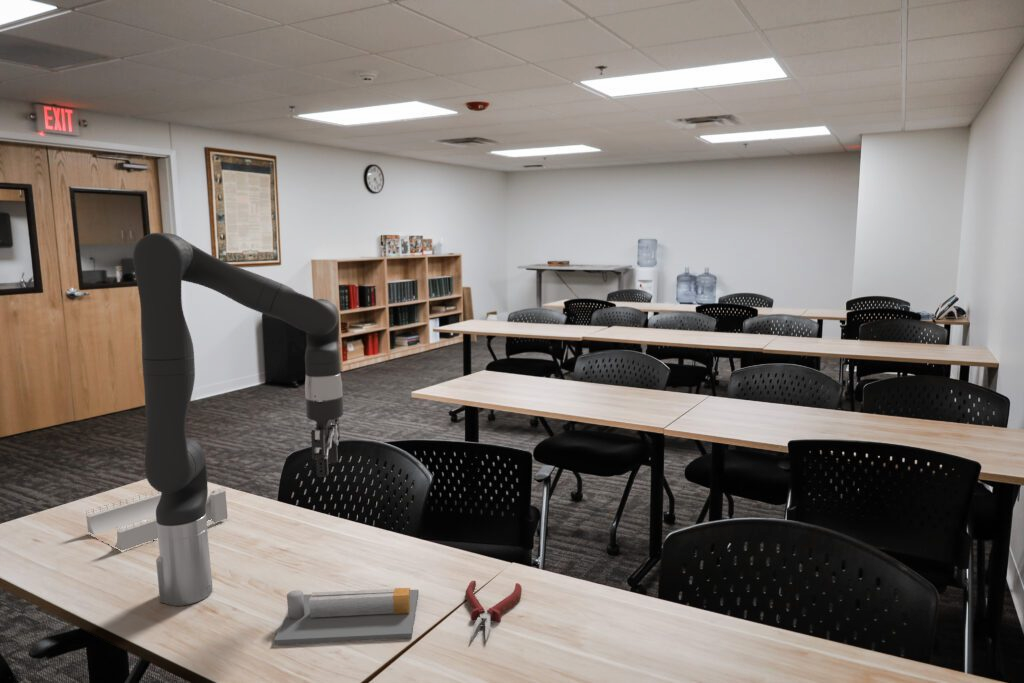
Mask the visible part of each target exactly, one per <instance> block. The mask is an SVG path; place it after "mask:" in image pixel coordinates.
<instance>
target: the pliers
mask: <svg viewBox="0 0 1024 683" xmlns="http://www.w3.org/2000/svg"><path fill="white" fill-rule="evenodd" d="M475 587H476V588H477V582H476V580H471V581H470V582H469V584H468V585H467V587H466V590H465V599H466V603H468V605H469V607H470V609H471V612H470V620H471V622H474V620H475V622H474V624H473V627H472V631H471V635H470V638H469V641H470V642H472V641H473V640H474V639H475V637H476V636H477V635H478V634H479V633H480V631H481V630H480V629H481V627H482V626H481V625H485V626H484V627H485V628H484V632H485V633H484V636H485V637H484V638H485V640H484V641H485V642H484V643H487V640H488V638H489V635H490V632H491V624H492V622H491V621H493V622H496V623H500V622H501V620H502V619H501V618H502V615H504V614H505V613H507V611H509V610H510V609H512V608H513V607H515V606H516V605H517V604H518V603H519V602H520V600H521V598H522V597H521V596H522V591H523V590H522V585H521V584H520V583H518V582H516V583H515V587H514V590H513V592H511V594H509V595H508V596H506V597H505V598H504V599H502V600H500V601H499V602H497V603H496V604H494V605H493V606H492V607H489V608H488V609H486V611H485V608H484V607H483V606H482V604H481V602H480V601H479V600H478V598H477V597H476V595H475V593H473V592H475V591H474V590H476V589H475ZM514 605H515V606H514ZM478 632H479V633H478Z"/></svg>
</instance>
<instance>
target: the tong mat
mask: <svg viewBox="0 0 1024 683" xmlns="http://www.w3.org/2000/svg"><path fill="white" fill-rule="evenodd" d="M418 594H419V589H410V601H411V607H410V612H409V613H406V614H394V613H391V614H372V615H353V616H333V617H314V618H310V606H309V599H310V597H311V595H312V593H311V594H304V591H302V590H300V589H296V590H291V591H289V592H288V593H287V594H286V600H287V604H286V605H287V614H286V616H285V617H284V620H283V621H282V623H281V625H280V628H279V629H278V632H277V634H276V636H275V637H274V639H273V643H274V646H283V645H284V646H286V645H303V644H305V645H306V644H323V643H324V644H325V643H341V642H342V643H344V642H361V641H384V640H383V639H387V640H402V639H403V638H407V639H412V638H413V632H414V627H413V626H414V625H415V620H416V614H415V613H417V607H418V601H417V600H419V595H418ZM381 639H382V640H381ZM403 640H404V639H403Z"/></svg>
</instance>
